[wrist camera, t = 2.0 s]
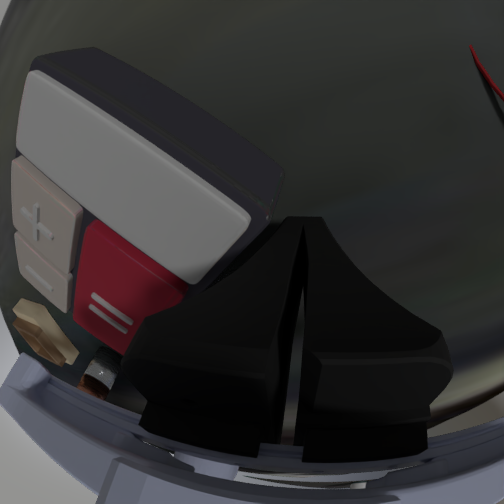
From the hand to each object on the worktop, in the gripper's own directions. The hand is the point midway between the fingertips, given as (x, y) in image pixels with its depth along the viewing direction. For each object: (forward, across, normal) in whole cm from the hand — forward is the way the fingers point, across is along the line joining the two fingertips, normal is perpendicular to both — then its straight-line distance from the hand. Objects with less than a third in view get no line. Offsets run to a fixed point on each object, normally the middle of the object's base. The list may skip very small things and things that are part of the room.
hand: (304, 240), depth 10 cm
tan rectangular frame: (+1, +28, +13) cm, 31 cm away
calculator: (+2, +10, 0) cm, 10 cm away
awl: (+1, +18, +15) cm, 24 cm away
